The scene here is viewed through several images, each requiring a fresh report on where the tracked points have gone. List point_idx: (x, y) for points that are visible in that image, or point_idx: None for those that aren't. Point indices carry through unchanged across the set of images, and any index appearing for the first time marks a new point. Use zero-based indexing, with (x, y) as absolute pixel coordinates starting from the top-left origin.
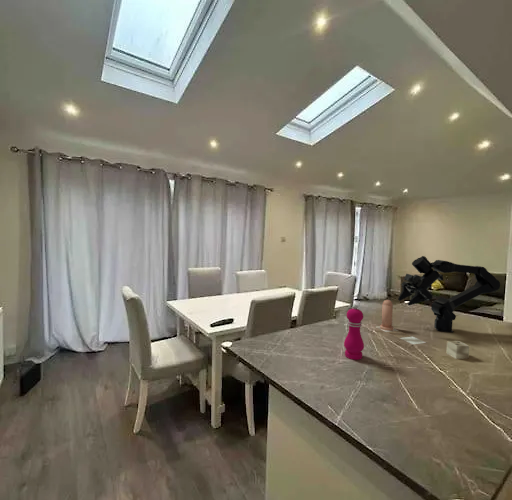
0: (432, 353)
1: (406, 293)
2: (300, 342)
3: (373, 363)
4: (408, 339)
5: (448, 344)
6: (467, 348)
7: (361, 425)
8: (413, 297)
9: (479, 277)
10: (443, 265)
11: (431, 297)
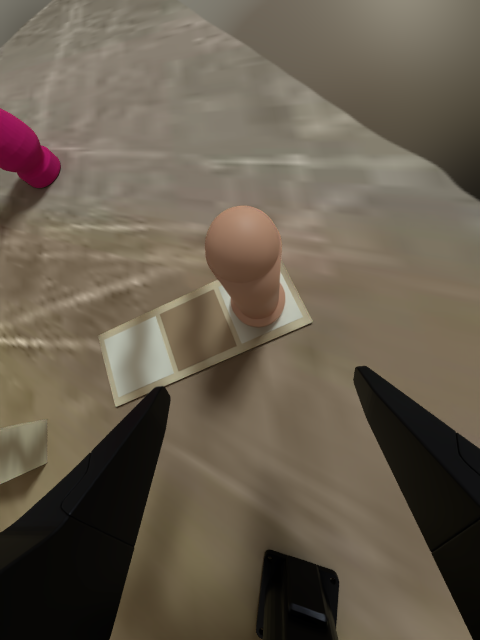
0: (49, 373)
1: (458, 544)
2: (120, 64)
3: (11, 207)
4: (143, 343)
5: (2, 430)
6: None
7: None
8: (85, 469)
9: None
10: None
11: None
